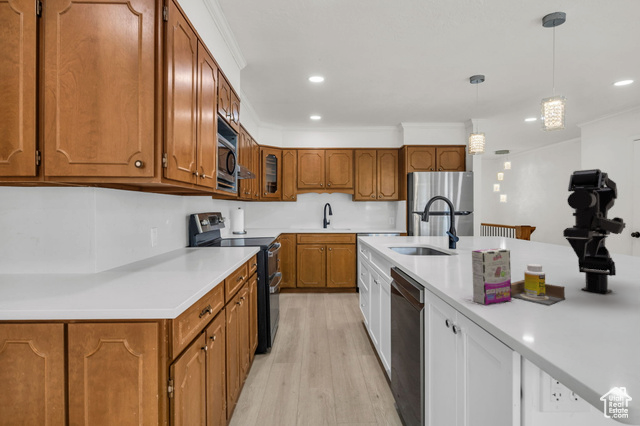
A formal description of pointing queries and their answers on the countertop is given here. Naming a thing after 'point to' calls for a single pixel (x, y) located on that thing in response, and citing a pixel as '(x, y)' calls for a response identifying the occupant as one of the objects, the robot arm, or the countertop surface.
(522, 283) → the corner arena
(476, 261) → the candy bar box
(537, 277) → the supplement bottle
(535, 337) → the countertop surface
